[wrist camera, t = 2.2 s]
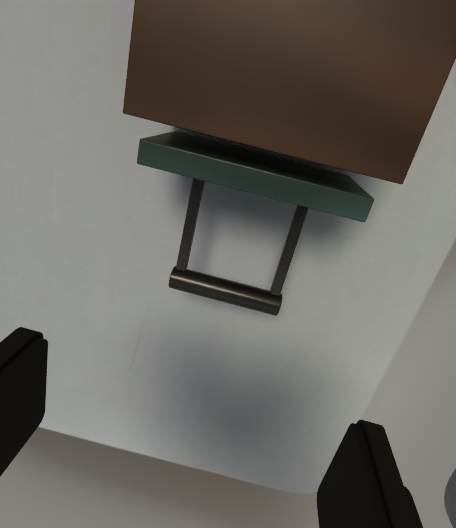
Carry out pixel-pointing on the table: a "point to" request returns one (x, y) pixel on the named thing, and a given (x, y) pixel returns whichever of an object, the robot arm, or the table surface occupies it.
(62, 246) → the table surface
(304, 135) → the cabinet
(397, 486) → the robot arm
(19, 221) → the table surface
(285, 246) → the drawer
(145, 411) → the table surface
